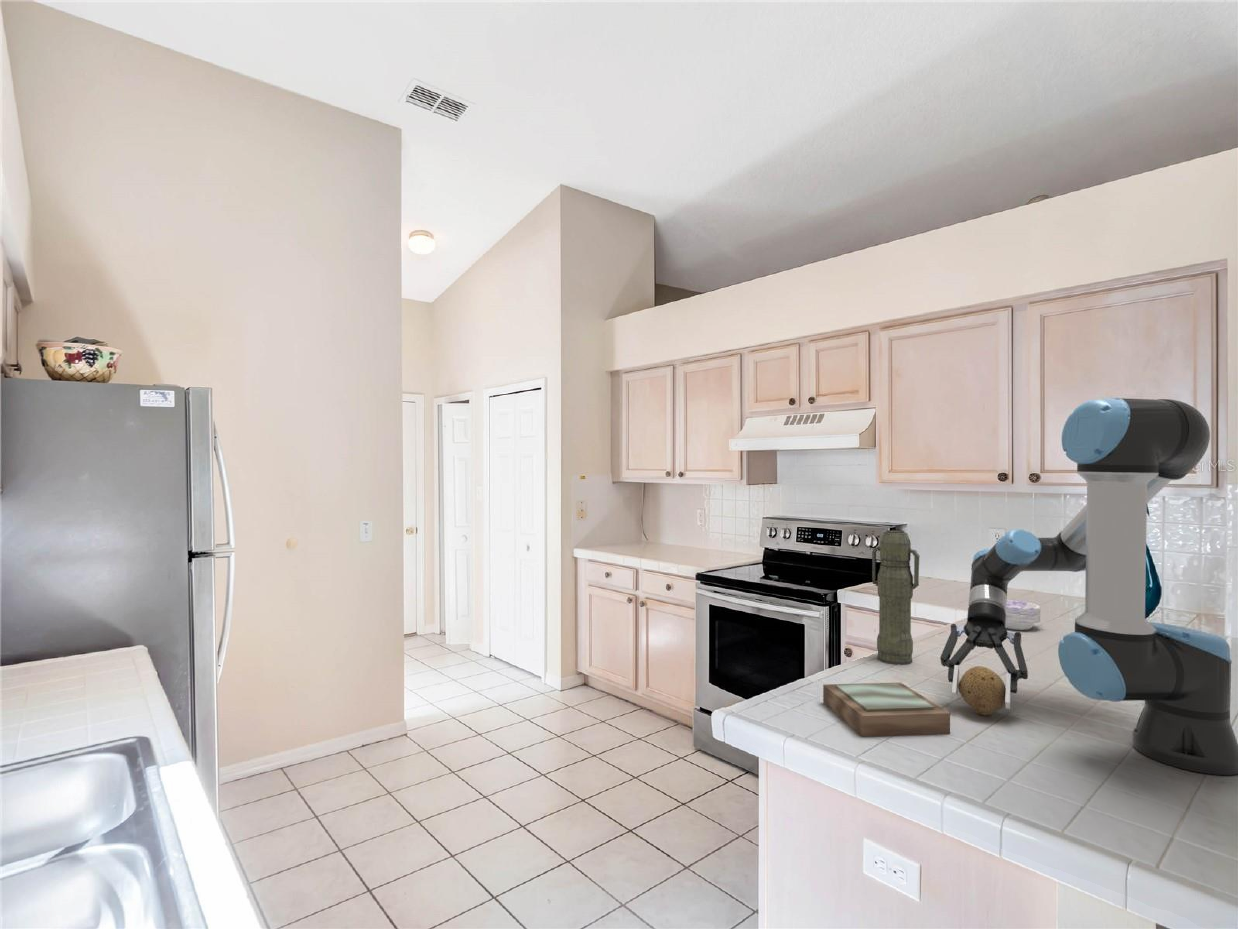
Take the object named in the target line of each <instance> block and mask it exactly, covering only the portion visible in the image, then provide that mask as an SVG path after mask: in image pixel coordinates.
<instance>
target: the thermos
mask: <svg viewBox="0 0 1238 929" xmlns="http://www.w3.org/2000/svg"><path fill="white" fill-rule="evenodd" d="M879 541H880V542H879V546H876V547H875V548H874V549H872V553H871V574H872V575H871V577H872V578H871V579H872V580H871V581H872V585H875V586H876V587H877V595H878V597H879V598H878V599H879V600H878V601H879V605H878V607H879V612H878V618H879V619H878V620H879V622H878V625H879V626H878V628H879V629H878V634H877V637H876V649H877V660H878V661H880V662H882V663H887V664H890V665H897V664H900V666H902V665H904V666H905V665H906V664H907V665H910V664H912V663H913V652H914V641H913V636H912V631H911V630H912V629H911V628H912V626H911V625H912V621H911V620H912V618H911V617H912V614H911V613H912V604H911V603H912V599H913V596H914V590H915V589H916V588H918V587H919V586H920V584H919V583H920V582H919V581H920V580H919V578H920V577H919V576H920V554H919V553H918V551H917V550H916V549H912V548H911V540H910V536H909V534H908V532H905V531H904V530H898V529H897V530H892V529H891V530H890V529H889V530H888V529H887V530H885V531H883V532H882V535H881V538H880V540H879ZM877 551H878V552H880V553H879V554H880V555H879V559H880V564H879V570H878V573H877ZM911 554H912V555H913V559H914V561H913V563H914V564H913V565H914V567H913V569H914V570H913V572H914V573H913V574H912V570H911V565H910V564H911V563H910V562H911V556H912V555H911ZM876 576H877V577H876Z"/></svg>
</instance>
